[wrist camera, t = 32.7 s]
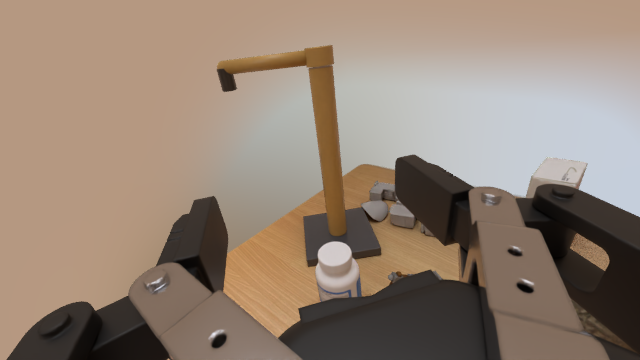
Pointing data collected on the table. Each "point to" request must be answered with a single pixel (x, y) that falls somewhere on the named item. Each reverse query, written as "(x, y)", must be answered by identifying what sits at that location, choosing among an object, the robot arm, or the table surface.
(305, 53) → the spout
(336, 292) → the pill bottle
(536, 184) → the ink box
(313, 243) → the pole stand
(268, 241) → the table surface
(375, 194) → the architectural model
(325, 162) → the stand pole
